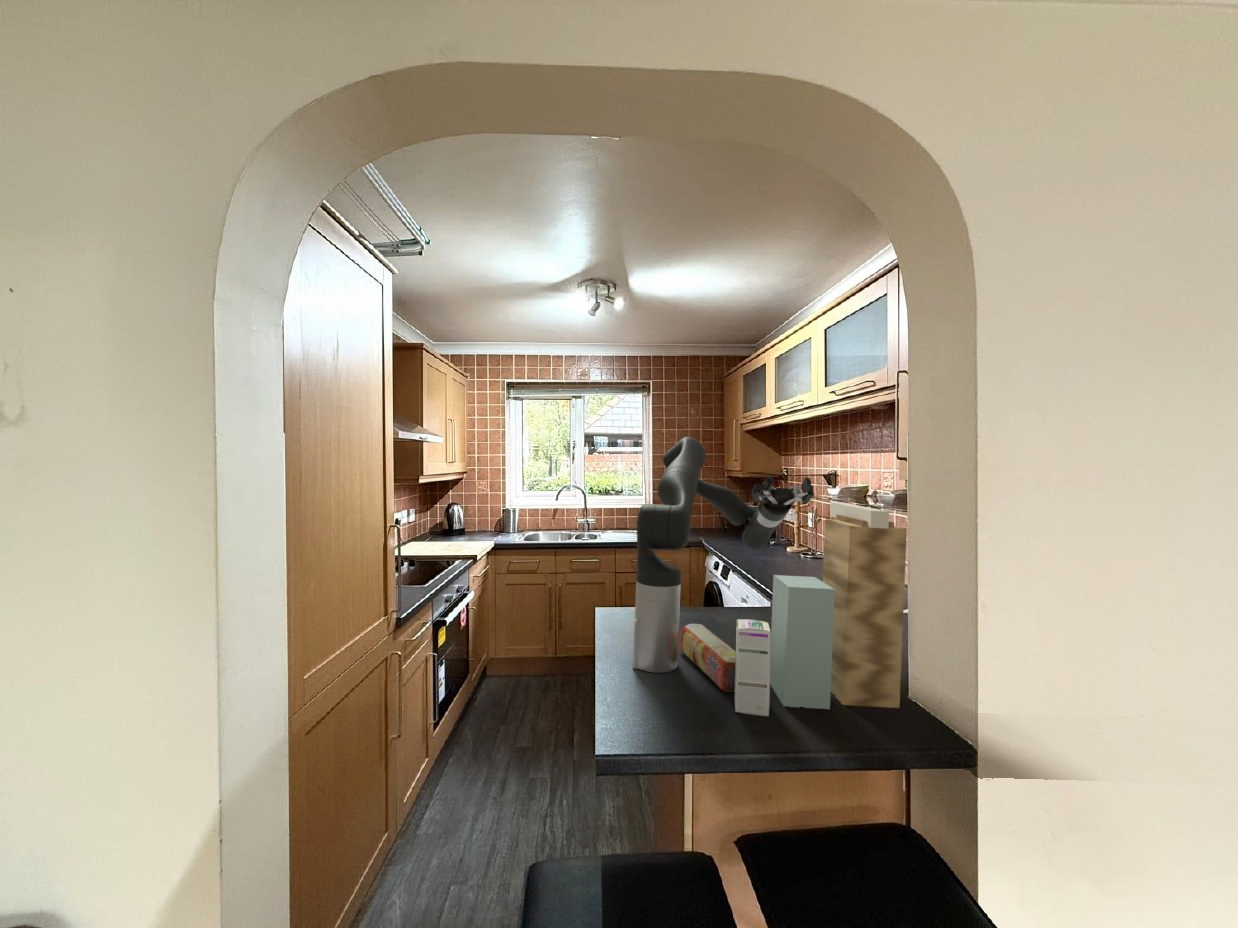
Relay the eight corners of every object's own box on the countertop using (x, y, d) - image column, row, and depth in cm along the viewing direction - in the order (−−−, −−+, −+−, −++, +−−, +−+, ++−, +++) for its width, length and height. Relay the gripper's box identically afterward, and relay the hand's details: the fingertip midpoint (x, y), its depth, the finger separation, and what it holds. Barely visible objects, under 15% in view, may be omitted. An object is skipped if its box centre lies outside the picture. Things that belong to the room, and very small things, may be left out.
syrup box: (769, 717, 86) (773, 630, 86) (733, 712, 87) (737, 627, 87) (766, 702, 92) (770, 620, 92) (733, 697, 93) (736, 617, 93)
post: (783, 706, 90) (788, 586, 90) (769, 682, 100) (773, 574, 100) (829, 709, 90) (834, 589, 90) (810, 684, 100) (814, 576, 100)
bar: (870, 527, 90) (871, 510, 90) (830, 515, 113) (830, 502, 113) (888, 528, 90) (889, 511, 90) (844, 516, 113) (845, 502, 113)
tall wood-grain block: (842, 704, 92) (850, 520, 92) (818, 677, 104) (825, 514, 104) (899, 707, 92) (906, 522, 92) (868, 680, 104) (875, 516, 104)
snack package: (752, 692, 96) (753, 656, 96) (719, 694, 94) (721, 658, 94) (704, 651, 117) (706, 621, 117) (677, 652, 115) (678, 622, 115)
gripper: (744, 494, 138) (758, 465, 124) (797, 497, 138) (818, 467, 124) (746, 520, 134) (761, 493, 120) (801, 522, 134) (822, 495, 120)
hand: (790, 480), depth 122 cm, fingers open, 8 cm apart
